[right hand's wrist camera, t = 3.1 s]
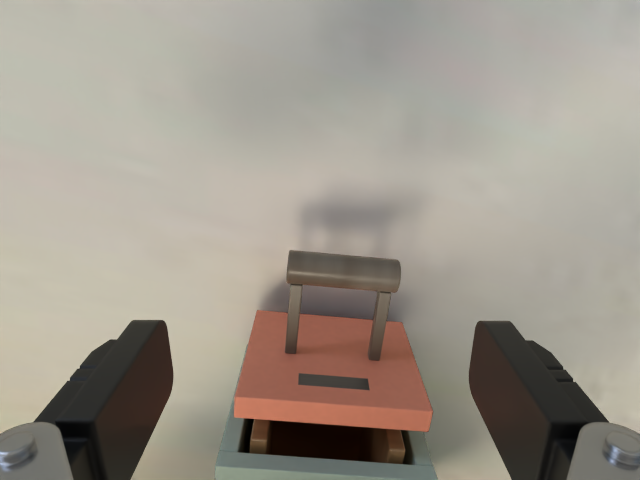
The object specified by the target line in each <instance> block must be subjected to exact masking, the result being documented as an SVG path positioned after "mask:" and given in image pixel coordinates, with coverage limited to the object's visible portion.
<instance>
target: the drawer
mask: <svg viewBox="0 0 640 480" xmlns="http://www.w3.org/2000/svg"><path fill="white" fill-rule="evenodd" d="M400 278H401V266H400V262H399V260H394V259H383V258H372V257H361V256H350V255H339V254H328V253H316V252H305V251H294V250H290V251H289V257H288V266H287V279H286V282H287V283H290V295H289V307H288V313H285V312H273V311H261V310H257V313H256V316H255V320H254V324H253V328H252V332H251V336H250V339H249V343H248V347H247V351H246V355H245V359H244V362H243V366H242V370H241V374H240V378H239V382H238V386H237V389H236V393H235V399H234V417H235V418H248V419H254V422H253V428H252V433H251V439H250V453H252V454H266V455H280V456H294V457H308V458H322V459H336V460H350V461H364V462H378V463H392V464H403V459H404V455H405V447H404V442H403V438H402V434H401V430H409V431H422V432H428V431H429V427H430V423H431V419H432V414H433V410H432V407H431V404H430V401H429V399H428V396H427V393H426V390H425V387H424V384H423V381H422V378H421V376H420V373H419V370H418V367H417V364H416V361H415V358H414V355H413V353H412V350H411V347H410V344H409V341H408V338H407V335H406V332H405V329H404V327H403V324H402V322H391V321H387V315H388V310H389V304H390V298H391V292H393V293H395V292H397V291H398V288H399V285H400ZM303 285H313V286H324V287H336V288H347V289H359V290H370V291H378V292H377V298H376V305H375V311H374V317H373V320H367V319H356V318H344V317H332V316H320V315H308V314H300V308H301V297H302V287H303Z"/></svg>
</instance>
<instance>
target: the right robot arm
mask: <svg viewBox="0 0 640 480" xmlns="http://www.w3.org/2000/svg"><path fill="white" fill-rule="evenodd" d="M469 384H470V390H471V394H472V397H473V399H474V401H475V403H476V405H477V407H478V409H479V411H480V414H481V416H482V418H483V420H484V422H485V424H486V426H487V428H488V430H489V432H490V435H491V437H492V439H493V441H494V443H495V445H496V447H497V449H498V451H499V453H500V456H501V458H502V460H503V462H504V464H505V466H506V468H507V470H508V472H509V474H510V477H511V479H512V480H640V434H639V433H637V432H635V431H633V430H631V429H629V428H626V427H624V426H621V425H617V424H613V423H609V421H608V420H607V419H606V418H605V417H604V415H603V414H602V413H601V412H600V411H599V409H598V408H597V407H596V406H595V405H594V403H593V402H592V401H591V400H590V399H589V397H588V396H587V395H586V394H585V393H584V392H583V390H582V389H581V388H580V387H579V386H578V384H577V383H576V382H573V378H572V377H571V376H570V375H569V374H568V372H567V371H566V370H563V366H562V365H561V364H560V363H559V362H558V360H557V359H556V358H555V357H554V356H553V354H552V353H551V352H549V351H548V350H546V349H545V348H543V347H542V346H540V345H539V344H537V343H536V342H534V341H526V340H525V339H524V338H523V337H522V335H521V334H520V333H519V331H518V330H517V329H516V328H515V326H514V325H513V324H512V323H511V322H510V321H479V322H478V323H477V325H476V328H475V334H474V341H473V348H472V355H471V362H470V369H469ZM172 385H173V366H172V359H171V352H170V345H169V338H168V330H167V326H166V323H165V322H164V321H163V320H133V321H131V323H130V324H129V325H128V326H127V328H126V329H125V330H124V331H123V333H122V334H121V335H120V337H119V338H118V339H117V340H109V341H107V342H106V343H104V344H103V345H101V346H100V347H98V348H97V349H95V350H94V351H92V352H91V353H90V355H89V356H88V357H87V358H86V359H85V361H84V362H83V363H82V364H81V365H80V369H77V370H76V371H75V373H74V374H73V375H72V376H71V377H70V381H67V382H66V384H65V385H64V386H63V387H62V388H61V390H60V391H59V392H58V393H57V394H56V396H55V397H54V398H53V399H52V400H51V402H50V403H49V404H48V405H47V406H46V408H45V409H44V410H43V411H42V412H41V414H40V415H39V416H38V417H37V419H36V420H35V421H34V422H33V423H27V424H23V425H19V426H16V427H14V428H11V429H9V430H7V431H5V432H3V433H1V434H0V480H130V479H131V477H132V475H133V473H134V471H135V469H136V467H137V464H138V462H139V460H140V458H141V456H142V454H143V452H144V450H145V447H146V445H147V443H148V441H149V439H150V437H151V435H152V433H153V430H154V428H155V426H156V424H157V422H158V420H159V418H160V416H161V413H162V411H163V409H164V407H165V405H166V403H167V401H168V399H169V396H170V394H171V390H172Z"/></svg>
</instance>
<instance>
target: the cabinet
mask: <svg viewBox="0 0 640 480" xmlns="http://www.w3.org/2000/svg"><path fill="white" fill-rule="evenodd" d="M247 347H248V345H247ZM246 351H247V348H246ZM246 351H245V355H246ZM245 355H244V359H245ZM244 359H243V362H244ZM242 366H243V363H242ZM241 370H242V367H241ZM240 374H241V371H240ZM240 374H239V378H240ZM239 378H238V382H239ZM238 382H237V386H238ZM237 386H236V389H237ZM235 393H236V390H235ZM235 393H234V397H233V401H232V405H231V409H230V412H229V416H228V420H227V424H226V428H225V431H224V435H223V439H222V443H221V446H220V450H219V454H218V457H217V461H216V465H215V480H438V478H437V475H436V472H435V468H434V467H433V463H432V459H431V456H430V453H429V449H428V446H427V443H426V439H425V436H424V433H423V432H422V431H409V430H401V434H402V438H403V442H404V447H405V455H404V459H403V464H392V463H378V462H364V461H350V460H336V459H322V458H308V457H294V456H280V455H266V454H252V453H250V439H251V433H252V428H253V422H254V419H248V418H235V417H234V399H235Z"/></svg>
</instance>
